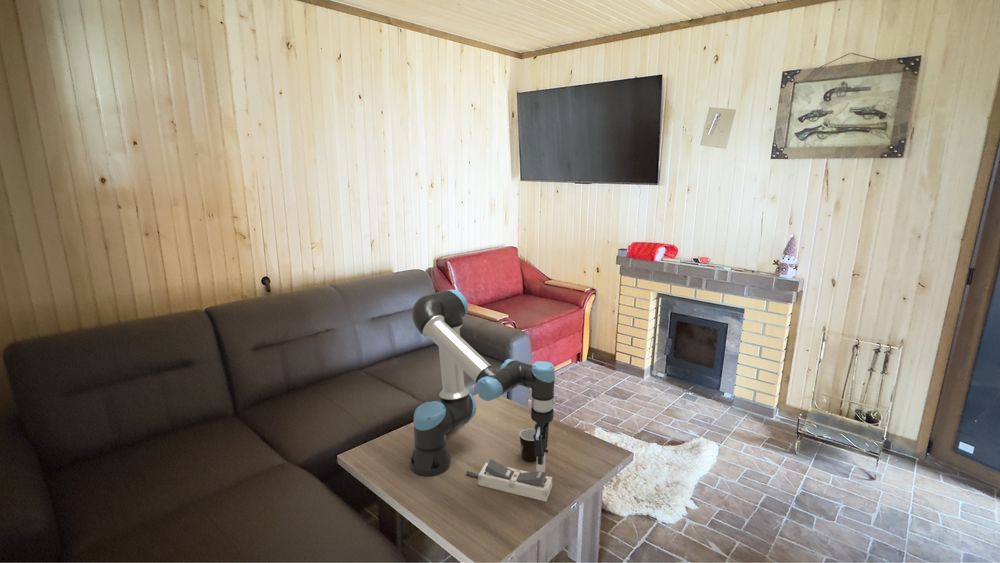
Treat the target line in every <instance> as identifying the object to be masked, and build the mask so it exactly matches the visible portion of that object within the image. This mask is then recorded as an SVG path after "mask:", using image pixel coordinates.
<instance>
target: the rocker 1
mask: <svg viewBox="0 0 1000 563" xmlns="http://www.w3.org/2000/svg"><path fill="white" fill-rule="evenodd" d="M487 463H488V465H487V466H486V469H485V471H486V472H488V473H490V474H492V475H494V476H495V477H499V478H503V479H508V480H509V479H510V478H511V476H512V473H513V471H512V470H510V469H508V468H507V466H504V465H503V464H501V463H499V462H497V461H495V460H493V459H490V460H489V462H487Z"/></svg>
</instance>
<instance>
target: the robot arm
mask: <svg viewBox="0 0 1000 563" xmlns="http://www.w3.org/2000/svg"><path fill="white" fill-rule="evenodd" d="M468 310H469V305H468V302H467V299H466V297H465V296H464V295H463V293H462V292H460V291H459V290H457V289H452V288H451V289H444V290H442V291H438V292H434V293H431V294H426V295H423V296H421V297H419V298H418V299H417V300H416V301H415V303H414V304H413V306H412V311H411V317H412V321H413V323H414V326H415V328H416V329H417V331H418V332H419V334H421V335H422V336H423V337H424V338H426V339H427V338H429V339H430V340H431V341H433V343H434V344H435V345H437V347H438V353H439V366H440V374H441V384H442V385H441V386H442V387H441V388H442V390H441V391H440V392H439V394H438V396H439V401H437V400H432V401H426V402H423V403H421V404H420V405H418V407H416V408H415V411H414V414H413V422H412V423H413V433H414V434H413V436H414V438H413V439H414V447H413V450H412V453H411V456H410V464H409V465H410V469H411V470H412V472H414V474H416V475H419V476H423V477H434V476H438V475H441V474H443V473H445V472H446V471H447V470H449V468H450V467H451V464H452V463H451V453H450V452H449V448H448V446H447V442H446V441H447V440H446V439H447V438H446V436H447V434H449V433H451V432H452V431H454V430H455V429H456V430H457V428H459V427H461V426H462V425H465V424H467V423H469V421H471V420H472V419H473V418H474V417H475V415H476V412H477V403H476V402H477V401H476V400H475V398H474V396H473V395H472V393H470V390H469V389H468V388H467V387H466V386H465V379H464V378H465V376H464V372H465V373H466V374H467V376H468V377H470V378H471V379H472V381H474V383H476V385H475V390H476V393H477V394H478V397H479V398H480V399H481V400H483V401H485V402H489V401H493V400H496V399H498V398H500V397H501V396H502V395H504V394H506V393H507V392H510V391H512V390H513V389H516V388H517V387H518V386H519V387H520V386H522V387H524V388H528V389H531V393H530V394H531V395H530V397H531V398H530V399H531V401H530V402H531V403H530V417H531V420H532V421H533V422H535V425H534V429H535V430H536V432H535V434H534V435H533V438H534V446H535V453H534V455H535V456H537V461H536V467H535V468H536V469H535V470H536V471H535V472H545V471H546V454H548V452H549V449H547V448H548V444H549V443H548V441H549V440H548V439H549V431H550V428H549V427H550V423H551V422H552V421H553V420H554V414H555V413H554V412H555V411H554V406H555V403H556V400H555V381H556V374H555V372H556V371H555V366H554V364H553V363H552V362H550V361H544V360H540V361H539V360H538V361H535V362H534V363H532V364H529V363H526V362H523V361H520V360H516V359H512V358H507V359H506V360H504V362H503V363H501V366H500V369H498V370H497V369H496V368H495V367H493V365H491V364H490V363H489V361H487V359H485V358H484V357H483V356H482V355H481V354H479V352H477V351H476V350H475V349H474V348H473V347H472V346H471V345H470V344H469V343H468V342H467V341H466V340H465V339H463V337H461V333H460V332H461V330H460V329H461V328H462V326H464V321H463V320H464V319H463V318H465V316H466V315H467V313H468ZM545 473H546V472H545Z"/></svg>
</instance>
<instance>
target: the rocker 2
mask: <svg viewBox="0 0 1000 563" xmlns="http://www.w3.org/2000/svg"><path fill="white" fill-rule="evenodd" d="M546 476H547V475H546V472H539V471H527V472H526V473H521V474H520V476H519V478H518V480H517V482H520V483H524V484H529V485H540V484H543V482H544V480H545V478H546Z"/></svg>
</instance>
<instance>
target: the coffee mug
mask: <svg viewBox="0 0 1000 563" xmlns="http://www.w3.org/2000/svg"><path fill="white" fill-rule="evenodd" d="M535 432H536V430H535V428H524V429H522V430H521V431H520V432H519V444H520V452H521V459H522V460H523V461H524V462H526V463H535V462H536V463H537V456H535V455H534V453H535V446H534V438H533V435H534V434H535Z"/></svg>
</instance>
